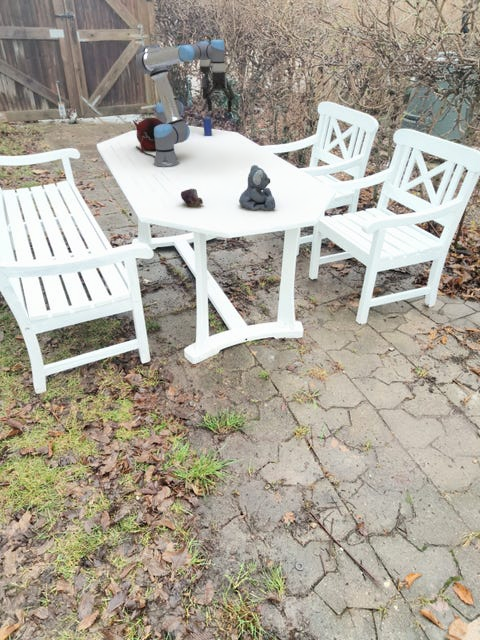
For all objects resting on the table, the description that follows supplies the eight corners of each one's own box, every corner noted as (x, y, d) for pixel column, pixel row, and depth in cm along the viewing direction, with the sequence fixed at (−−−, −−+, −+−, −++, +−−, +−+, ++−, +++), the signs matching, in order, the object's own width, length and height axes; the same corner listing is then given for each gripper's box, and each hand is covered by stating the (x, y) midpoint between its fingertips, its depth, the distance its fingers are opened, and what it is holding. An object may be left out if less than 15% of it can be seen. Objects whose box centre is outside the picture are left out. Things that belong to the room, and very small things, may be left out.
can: (213, 135, 362) (212, 118, 355) (207, 136, 358) (206, 119, 351) (208, 133, 366) (207, 117, 359) (202, 135, 362) (201, 118, 355)
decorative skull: (136, 123, 331) (129, 120, 308) (167, 116, 330) (163, 112, 307) (144, 153, 338) (138, 152, 315) (174, 146, 337) (171, 145, 314)
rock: (196, 202, 238) (178, 205, 233) (194, 185, 234) (176, 188, 230) (205, 205, 228) (187, 208, 224) (203, 188, 224) (185, 191, 220)
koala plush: (276, 211, 223) (277, 171, 212) (240, 212, 222) (240, 172, 211) (271, 199, 237) (272, 161, 226) (237, 200, 236) (237, 162, 225)
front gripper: (240, 71, 255) (241, 112, 267) (203, 69, 265) (205, 109, 277) (234, 73, 250) (235, 114, 262) (196, 71, 259) (198, 111, 272)
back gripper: (207, 67, 324) (208, 100, 336) (212, 64, 344) (213, 94, 356) (196, 67, 324) (198, 99, 336) (202, 64, 345) (204, 94, 357)
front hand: (219, 111), depth 269 cm, fingers open, 13 cm apart
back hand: (206, 97), depth 346 cm, fingers open, 13 cm apart
